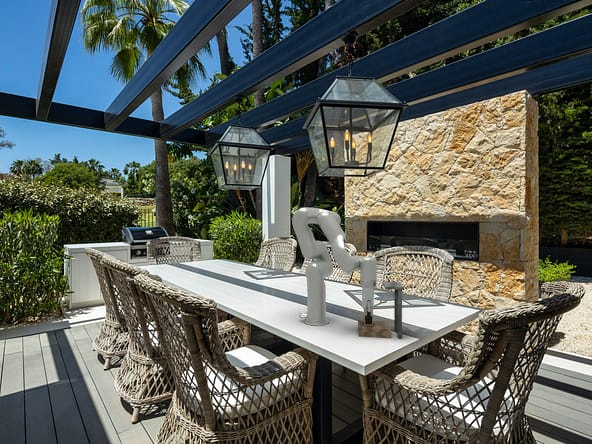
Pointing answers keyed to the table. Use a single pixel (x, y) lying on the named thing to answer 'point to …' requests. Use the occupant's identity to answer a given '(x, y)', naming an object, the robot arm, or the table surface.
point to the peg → (364, 317)
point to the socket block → (382, 327)
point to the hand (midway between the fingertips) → (368, 322)
